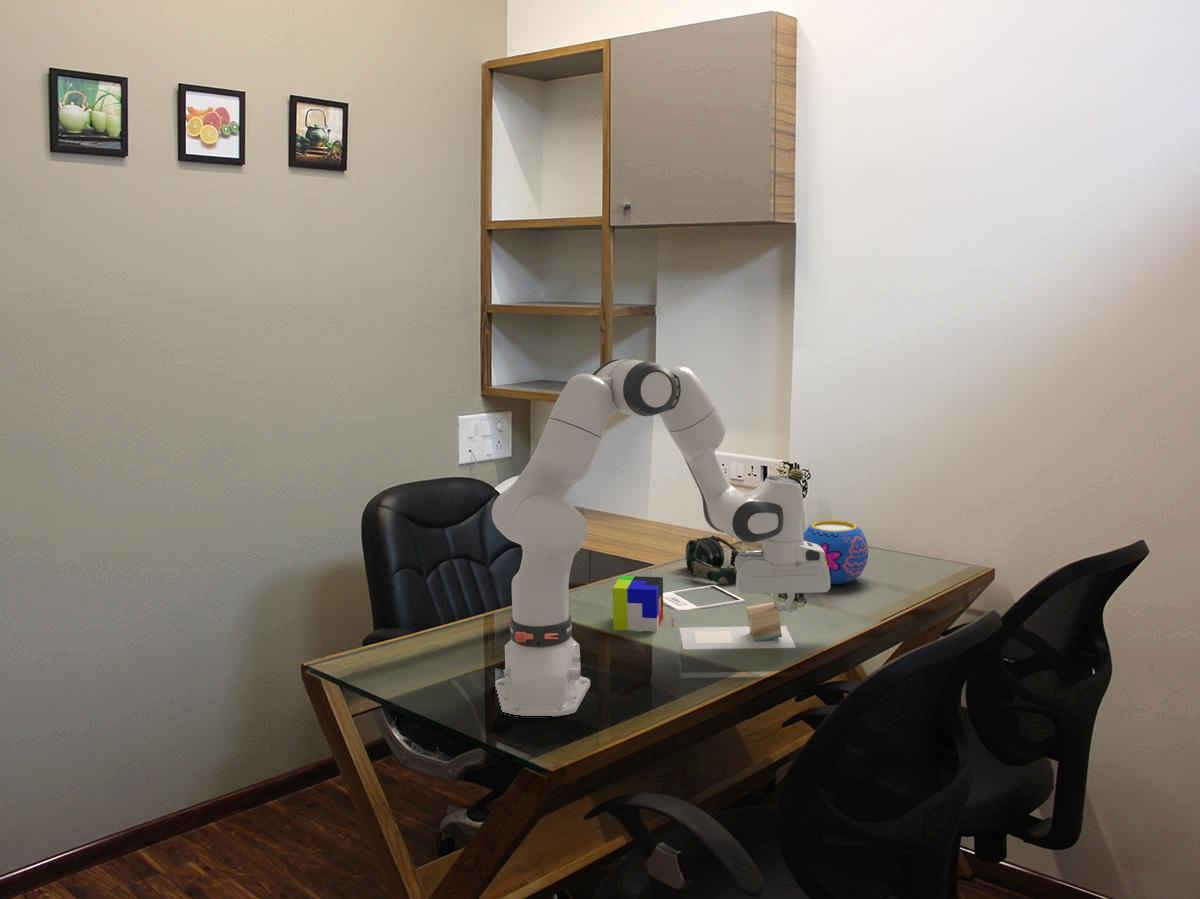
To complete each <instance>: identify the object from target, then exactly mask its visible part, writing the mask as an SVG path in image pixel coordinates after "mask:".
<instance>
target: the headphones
mask: <svg viewBox="0 0 1200 899" xmlns="http://www.w3.org/2000/svg"><path fill="white" fill-rule="evenodd" d="M721 543H722V544H724V545H725V546H728V548H730V550H731V553H730V564H729V566H727V567H723V566H724V563H725V550H724V548H723V546H722V545H721ZM738 554H739V552H738V550H737V549H736V547H734V546H733V545H732V544H730V543H729V541H727V540H725V539H723V538H722V537H719V536H715V535H711V536H709V537H707V536H706V537H702V538H696V539H689V540H688V541H687V543H686V545H685V562H686V567H687V569H688V571H689V572H690V573H691V574H693V575H694V576H697V577H698V578H701V579H703V580H706V581H710V582H715V583H716V584H721V585H733V584H736V575H737V570H736V568H735V557H736V556H737V555H738ZM740 556H742V555H740Z"/></svg>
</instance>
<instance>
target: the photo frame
mask: <svg viewBox="0 0 1200 899" xmlns="http://www.w3.org/2000/svg"><path fill="white" fill-rule="evenodd" d="M713 587H714V588H716V589H718V590H720V591H722V592H724V593H726V594H728V595H729V596H732V597H734V598H736V599H737V600H731V601H725V602H724V601H723V602H719V603H714V604H708V605H701V606H697V605H695V604H693V603H692V602H690V601H688V600H686V599H685V598H683V597H681V596H680V595H678V594H684V593H688V592H687V591H689V592H692V591H691V590H696V591H698V590H697V589H702V590H707V589H706V588H708V589H711V588H713ZM676 593H677V594H676ZM741 602H743V603H745V602H746V599H744V598H741V597H739V596H738V595H736V594H733V593H731V592H729V591H728V590H726V589H723V588H721V587H719V586H717V585H716V584H712V585H711V584H710V585H705V586H698V587H693V588H685V589H678V590H675V591H668V592H663V604H664V603H665V604H666V606H667V605H668V606H667V607H669V606H670V607H671V609H672V608H673V609H672V610H674V609H675V610H674V611H683V610H685V611H686V610H691V611H692V610H693V611H694V610H703V609H702V608H707V609H710V608H709V607H713V608H717V607H716V606H719V607H723V605H725V606H729V605H730V604H731V605H735V603H737V604H742V603H741ZM665 604H664V605H665ZM670 607H669V608H670Z"/></svg>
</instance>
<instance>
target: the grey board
mask: <svg viewBox="0 0 1200 899" xmlns="http://www.w3.org/2000/svg"><path fill="white" fill-rule="evenodd" d="M780 627H781V633H782V637H779V638H773V639H767V640H762V641H756V642H755V641H754V639H753V637H752V635H751V633H750V627H749V626H713V627H712V626H706V627H705V626H699V627H698V626H697V627H695V626H694V627H678V628H679V634H680V639H681V644H682V649H683V650H734V649H735V650H738V649H741V650H742V649H748V650H749V649H793V648H794V649H796V648H797V646H796V645H795V642H794V641H793V640H794V639H793V638H792V635H791V634H790V632H789V630H788V628H787V626H786V625H780Z"/></svg>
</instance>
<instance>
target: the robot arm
mask: <svg viewBox="0 0 1200 899" xmlns="http://www.w3.org/2000/svg"><path fill="white" fill-rule="evenodd" d="M567 381H568V382H567V383H566V384H565V386H564V388H562V391H561V392H560V394H559V396H558V398H557V400H556V402H554V406H553V408H552V410H551V412H550V415H549V417H548V420H547V422H546V424H545V427H544V428H543V432H542V433H541V436H540V439H539V440H538V443H537V446H536V448H535V450H534V453H533V455H532V457H531V458H530V460H529V462H528V463H527V465H526V466H525V467H524V469H523V470H522V472H521V473H520V474H519V476H518V477H517V478H516V480H515V481H514V482H513V484H512V485H511V486H510V487H508V488H507V489H506V490H504V491H503V492H501V493H499V495H497V497H496V499H495V500H494V502H493V504H492V508H491V518H492V519H491V520H492V522H493V525H494V526H495V528H496V529H497V530H498V532H500V533H501V534H502V535H503V536H504V537H505V538H506V539H508V540H509V541H511V542H513V543H516V544H518V545H520V547H521V549H522V558H521V562H520V565H519V566H520V567H519V570H518V572H517V573H516V574H515V575H514V576H513V577H512V580H511V604H512V605H511V606H512V616H511V617H510V624H509V625H510V626H509V628H510V629H509V631H510V640H509V641H508V642H506V644H504V661H505V662H504V665H505V666H504V667H505V668H503V670H502V675H503V677H502V678H500V679H497V680H496V681H495V686H494V687H496V688H495V691H496V690H497V692H496V695H497V694H498V696H497V699H498V698H499V700H498V703H500V704H499V706H501V708H500V711H501V710H502V712H505V713H509V714H513V715H521V716H552V717H561V716H566V715H571V714H575V713H576V712H577V711H578V708H579V707H580V705H581V703H582V701H583V699H584V698H585V696H586V693H587V692H588V690H589V688H590V687H591V680H590V678H588V677H585V676H582V670H581V669H582V668H581V652H580V643H578V642H577V641H576V640H575V639H574V638H573V637H572V634H573V633H572V631H573V630H572V628H573V624H572V616H571V615H570V614H569V613H570V612H569V609H570V608H569V606H570V604H569V603H570V602H569V596H570V595H569V589H570V588H569V587H570V586H569V584H570V583H569V582H570V574H571V569H572V564H573V561H574V558H575V555H576V554H577V553H578V552H579V551H581V549H582V547H583V546H584V544H585V542H586V540H587V536H588V524H587V520H586V518H585V516H584V515H583V513H581V512H580V511H579V510H578V509H577V508H576V507H575V506H573V505H572V504H571V503H570V502H568V501H566V500H564V499H565V497H566V496H567V494H569V492H570V490H572V488H573V487H575V485H577V483H579V482H581V481H583V480H584V479H585V478H586V477H587V476H588V474H589V471H590V469H591V466H592V464H593V461H594V460H595V456H596V454H597V451H598V448H599V446H600V443H601V442H602V438H603V436H604V433H605V430H606V426H607V425H608V424H609V422H610V420H611V418H613V416H615V414H616V413H621V414H623V415H625V416H626V415H627V416H636V417H639V416H640V417H652V416H657V415H659V417H660V418H661V419H662V422H663V424H664V425H665V429H666V430H667V431H668V434H669V436H670V437H671V438H672V440H673V442H674V443H675V445H676V446H677V449H678V450H679V451H680V452H681V455H682V456H683V458H684V460H685V463H686V465H687V468H688V469H689V472H690V473H691V476H692V478H693V480H694V482H695V484H696V486H697V488H698V491H699V493H700V495H701V500H702V507H703V508H702V509H703V516H704V519H705V521H706V523H707V525H709V527H710V528H711V529H713V531H714V530H715V531H716V532H719V533H720V532H721V533H723V534H726V535H728V536H730V537H732V538H735V539H737V540H739V541H741V542H745V543H757V542H761V543H762V544H761V546H762V547H761V549H762V550H753V551H752V550H751V551H747V550H745V551H741V552H740V553H738V555H737V556H736V557H735V563H734V564H735V568H736V570H737V575H736V582H735V588H736V590H737V592H738V593H739V594H740V595H755V594H757V595H759V594H761V595H762V594H763V595H765V594H767V595H768V594H770V596H771V598H772V600H773V601H774V602H773V603H774V604H775V607H776V608H777V610H778V614H779V613H790V605H792V602H793V601H794V599H795V597H796V595H795V594H803V593H806V594H807V593H808V594H809V593H811V594H812V593H827V592H829V590H830V589H831V584H830V574H829V568H828V565H827V564H826V562H825V561H824V559H825V552H824V550H823V549H822V548H821V547H820V546H819V545H817V544H814V543H811V542H807V541H804V536H803V533H804V532H803V522H804V518H805V517H804V516H805V515H804V514H805V512H804V511H805V508H804V506H805V505H804V495H803V494H804V493H803V488H802V486H801V484H800V483H799V482H798V481H796V480H795V479H792V478H789V477H784V476H778V475H776V476H775V475H774V476H773V475H770V476H768V477H765V479H764V481H763V482H762V483H761V484H760V485H758V487H756V488H755V489H753V490H751V491H749V492H747V493H745V492H742V491H740V490H738V489H737V488H735V487H734V486H733V485H731V484H730V482H729V481H728V480H727V477H726V475H725V473H724V471H723V469H722V467H721V464H720V463H719V460H718V459H717V455H716V454H715V451H716V450H717V449H718V448H719V447H720V445H721V444H722V443H723V441H724V439H725V436H726V428H725V423H724V420H723V418H722V415H721V413H720V411H719V409H718V407H717V405H716V403H715V402H714V400H713V398H712V396H711V394H710V393H709V391H708V390H707V389H706V387H705V386H704V384H703V383H702V381H701V380H700V379H699V378H698V376H697V375H696V374H695V373H694V372H693V370H692V369H690V368H689V367H688V366H683V365H675V366H670V367H667V368H666V367H664V366H663V365H661V364H660V363H657V362H654V361H645V360H644V361H643V360H639V359H637V358H636V359H635V358H626V359H613V360H612V359H611V360H609V361H607V362H605V363H603V364H602V365H600V366H599V367H598V368H597V369H596V370H595V371H594V372H593V373H592V374H590V373H579V374H578V373H577V374H576V375H574V376H572V377H571V378H570V379H569V380H567ZM740 555H742V556H740ZM780 594H786V595H787V599H786V600H785V602H779V600H778V599H779V597H780V596H779V595H780ZM502 712H501V713H502Z"/></svg>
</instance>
